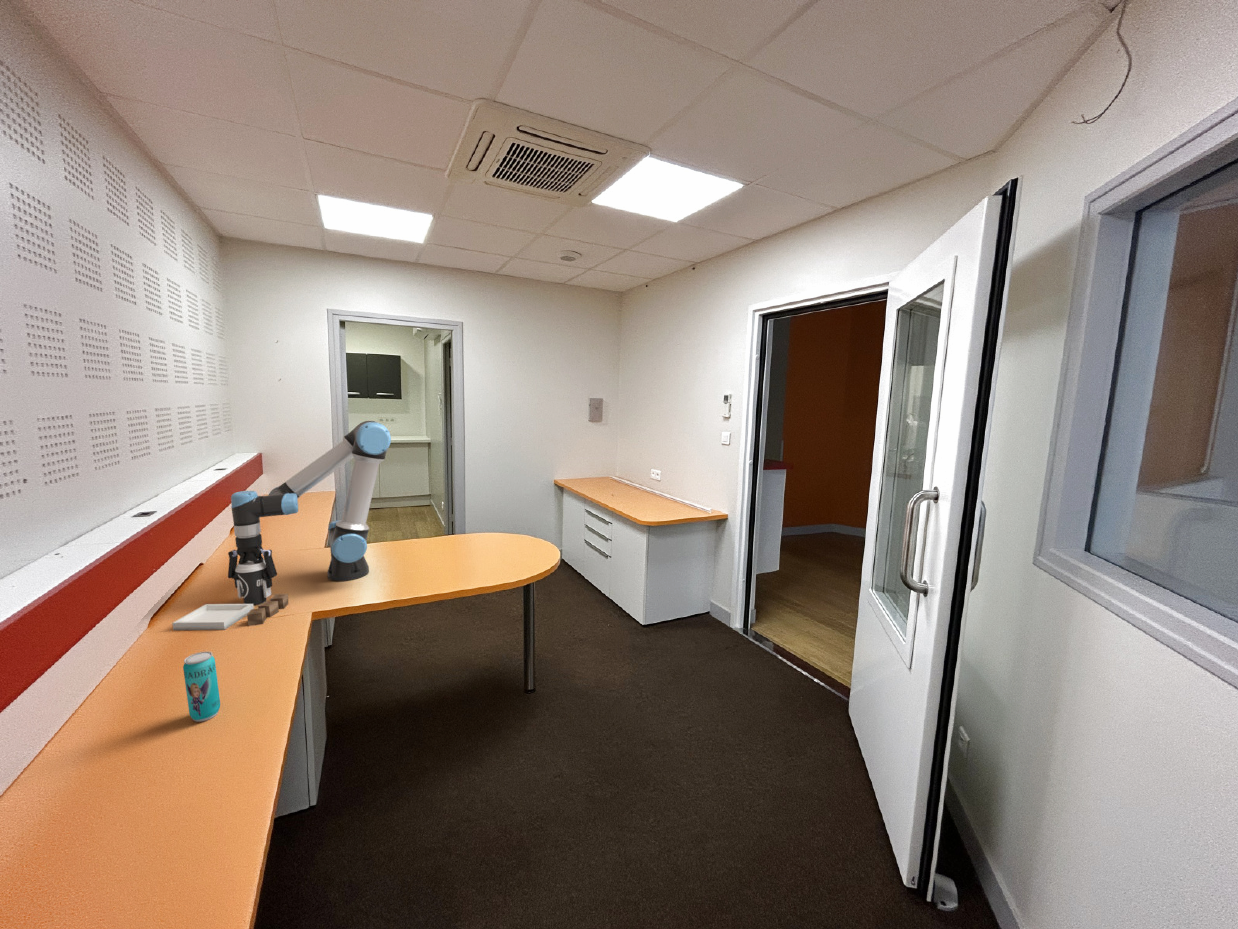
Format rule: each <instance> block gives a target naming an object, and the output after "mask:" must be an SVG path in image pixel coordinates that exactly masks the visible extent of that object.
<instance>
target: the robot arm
mask: <svg viewBox="0 0 1238 929" xmlns="http://www.w3.org/2000/svg"><path fill="white" fill-rule="evenodd" d="M391 442H392V436H391V433H390V431H389V430H388V428H387V427H386V426H385V425H384V424H382V423H380V422H377V421H376V420H375V421H374V420H365V421H362V422H360V423H359V424H357V425H356V426H355V427H354V428H353V429H352V430H351V431H349V432H348V433H347V434H346V435H344V436H343V437H342V441H340V442H339V443H338V444H336V445H335V446H333V447H332V448H330V450H328V451H326V452H325V453H324V454H322V455H321V456H320V457H318V458H316V459H315V460H314V461H312V462H311V463H309V464H308V465H306V466H305V467H304V468H303V469H301V470H300V471H298V472H297V473H296V474H295V475H293V476H291V477H289V479H287V480H286V481H285V482H283V483H282V484H280V485H279V486H276V487H274V488H273V489H271V490H270V491H269V493H268V495H258V492H257V491H255V490H241V491H237V492H233V493H232V494H231V496H230V502H231V504H230V505H231V506H230V508H231V514H232V520H233V530H234V531H233V532H234V536H235V547H236V548H237V549H232V550H230V551H229V552H228V553H227V555H228V558H229V560H228V572H227V578H228V579H232V580H233V581H234V587H235V589H236V590H237V597H238V598H239V599H241V598H243V595H242V591H241V586H240V582H239V578H238V574H237V572H236V571H235V569H236V567H237V565H238V563H239V564H244V563H246V562H247V561H253V562H254V564H258V563H261V562H263V559H264V560H265V564H266V568H264V569H262V575H263V577H264V578H265V579H264V580H262V581H263V590H264V598H268V597H270V596H271V595H272V589H271V588H272V587H273V580H272V579H273V578H274V577H276V576H277V575H278V572H277V569H276V566H275V562H274V559H273V555H272V553H273V550H272V549H264V548H263V547H262V544H263V538H262V534H261V532H262V529H261V519H260V518H266V517H275V516H289V515H293V514H294V515H295V514H298V512H299V501H298V499H299V498H300V497H302V495H305V493H307V492H308V491H310V490H311V489H312V488H313V487H315V486H317V485H318V484H320V482H322V481H323V480H325V479H326V478H327V477H329V476H330V475H331V474H333V473H335V472H336V471H338V469H340V468H341V467H343V466H344V465H346V464H347V463H349V462H350V461H351V460H352V459H354V462H353V467H352V471H351V476H350V480H349V486H348V488H347V489H348V490H347V493H346V498H345V503H344V508H343V511H342V514H341V519H340V520H334V521H331V522H329V523H328V529H327V530H328V533H329V534H328V536H329V547H330V548H329V550H330V562H329V565H328V570H327V579H328V580H329V581H333V582H334V581H335V582H342V581H343V582H345V581H352V580H356V579H360V578H363V577H365V576H366V575H368V574H369V573H370V566H369V564H368V562H367V559H366V557H365V554H366V552H367V550H368V544H367V540H368V536H369V531H370V527H369V525H368V523H367V520H368V517H369V512H370V511H369V510H370V507H371V503H372V498H373V494H374V489H375V485H376V480H377V476H378V470H379V466H380V463H382V462H383V461H385V460H386V455H387V451H388V449H389V448H390V445H391ZM238 558H239V559H238ZM257 559H259V560H257Z"/></svg>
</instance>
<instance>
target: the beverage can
mask: <svg viewBox="0 0 1238 929" xmlns="http://www.w3.org/2000/svg"><path fill="white" fill-rule="evenodd" d="M216 665H217V664H216V659H215V657H214V656H213V652H212V651H201V652H196V653H193V654H190V655H189V656H187V657H186V658H184V660H183V667H182V669H183V676H184V678H183V679H184V683H185V684H184V686H185V691H186V692H185V693H186V700H187V706H188V712H189V713H188V714H189V716H190V718H191V719H192V720H193V721H194V722H196V723H200V722H201V723H202V722H206V721H209V720H211V719H213V718H214V717H216V716H217V715H218V713H219V711H220V708H221V698H220V690H219V683H218V681H219V680H218V673H217V667H216Z"/></svg>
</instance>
